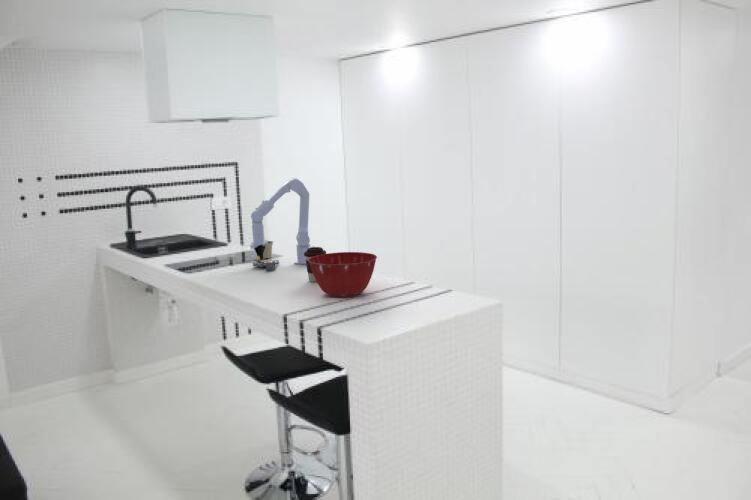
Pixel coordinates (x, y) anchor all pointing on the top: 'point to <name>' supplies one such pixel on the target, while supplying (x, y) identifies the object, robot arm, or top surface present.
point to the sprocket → (263, 262)
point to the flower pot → (268, 250)
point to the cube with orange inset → (270, 266)
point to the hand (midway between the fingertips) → (260, 260)
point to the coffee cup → (310, 253)
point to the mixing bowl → (343, 272)
